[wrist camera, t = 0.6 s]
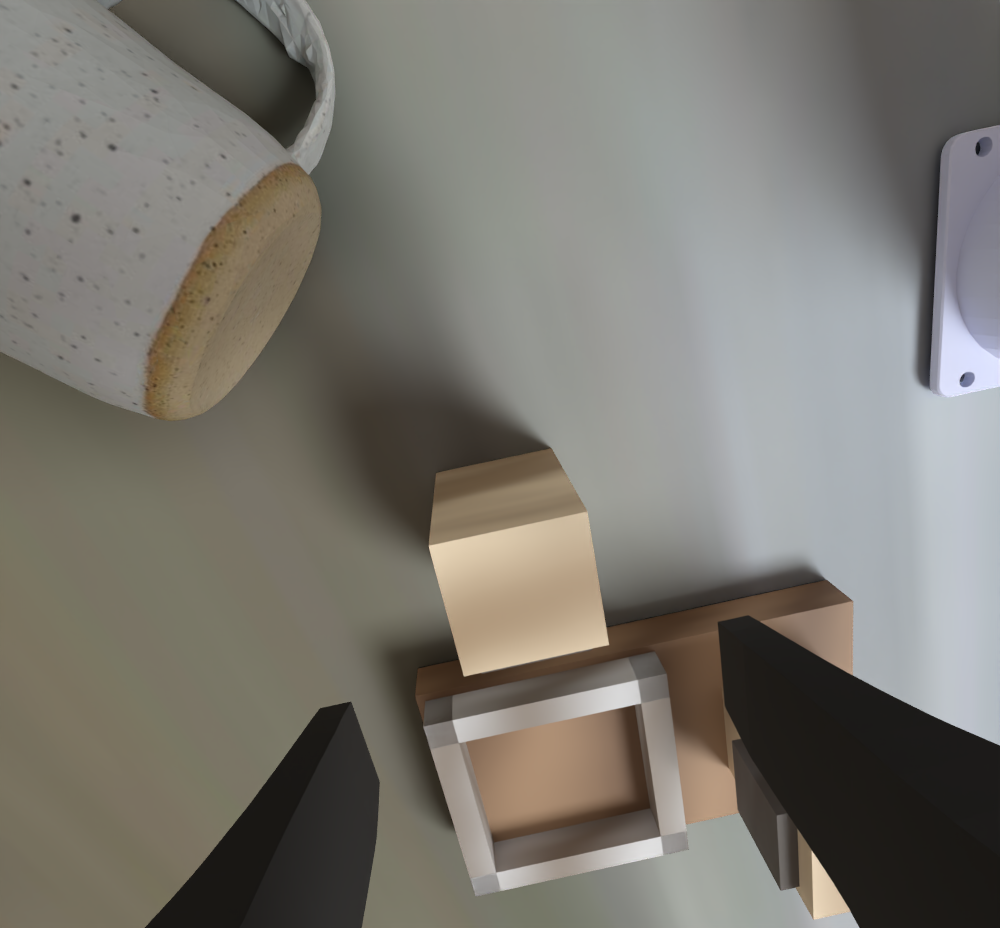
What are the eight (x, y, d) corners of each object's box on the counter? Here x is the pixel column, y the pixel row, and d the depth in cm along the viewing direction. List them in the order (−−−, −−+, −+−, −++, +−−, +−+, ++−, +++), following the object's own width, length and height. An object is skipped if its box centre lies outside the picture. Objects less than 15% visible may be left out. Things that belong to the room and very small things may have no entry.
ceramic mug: (250, 410, 18) (108, 492, 10) (-20, 261, 16) (-422, 236, 9) (418, 92, 16) (389, -85, 8) (128, -122, 14) (-239, -595, 6)
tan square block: (436, 472, 19) (428, 545, 14) (551, 447, 19) (587, 511, 14) (465, 588, 20) (468, 694, 15) (572, 565, 20) (612, 663, 15)
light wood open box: (826, 579, 21) (993, 714, 15) (828, 758, 24) (969, 938, 18) (417, 668, 21) (399, 844, 15) (468, 837, 24) (473, 1048, 17)
